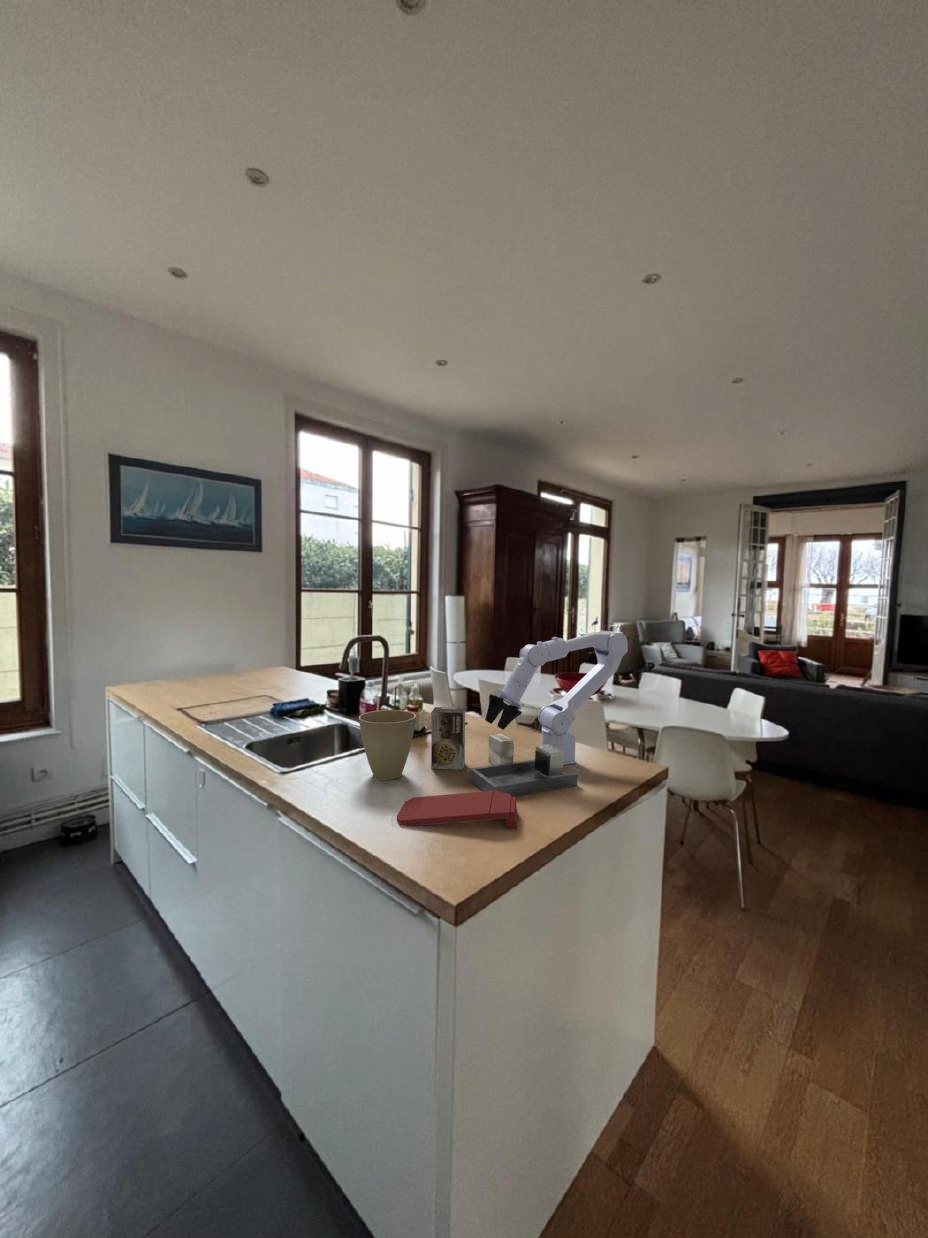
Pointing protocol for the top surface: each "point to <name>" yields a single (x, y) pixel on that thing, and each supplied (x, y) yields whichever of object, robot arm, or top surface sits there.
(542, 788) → the tray
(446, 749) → the food box
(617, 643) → the robot arm
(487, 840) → the top surface
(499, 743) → the finger block
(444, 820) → the red bent plate
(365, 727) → the plant pot
